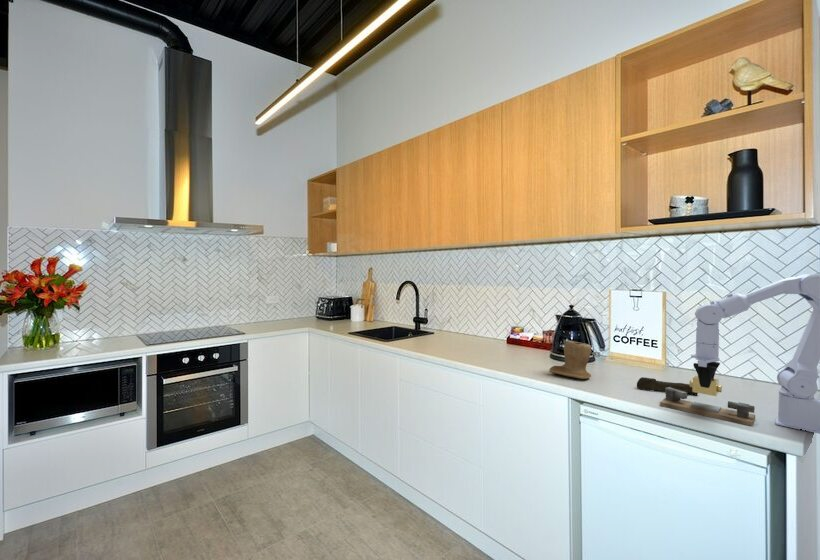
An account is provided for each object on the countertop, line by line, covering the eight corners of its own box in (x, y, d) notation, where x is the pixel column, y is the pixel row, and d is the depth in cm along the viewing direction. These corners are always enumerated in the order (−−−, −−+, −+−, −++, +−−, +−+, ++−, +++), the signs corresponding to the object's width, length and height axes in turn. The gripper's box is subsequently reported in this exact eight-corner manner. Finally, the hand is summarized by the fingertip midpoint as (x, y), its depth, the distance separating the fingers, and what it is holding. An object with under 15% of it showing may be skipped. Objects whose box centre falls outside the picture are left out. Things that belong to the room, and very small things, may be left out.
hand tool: (695, 393, 142) (695, 381, 141) (698, 396, 138) (698, 383, 138) (636, 387, 149) (636, 375, 149) (637, 389, 146) (637, 377, 146)
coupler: (722, 394, 121) (722, 379, 121) (720, 397, 118) (720, 382, 118) (691, 388, 127) (691, 374, 127) (688, 391, 124) (688, 377, 124)
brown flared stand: (596, 377, 162) (596, 341, 162) (584, 382, 154) (585, 345, 154) (560, 370, 173) (561, 336, 173) (548, 375, 165) (548, 340, 164)
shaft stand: (755, 418, 117) (755, 403, 117) (752, 426, 112) (752, 409, 112) (666, 400, 134) (666, 386, 134) (660, 405, 128) (660, 391, 128)
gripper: (696, 338, 130) (695, 378, 130) (686, 344, 120) (685, 387, 120) (723, 341, 125) (722, 383, 125) (715, 347, 115) (714, 392, 115)
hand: (706, 385), depth 123 cm, fingers closed on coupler, 4 cm apart
